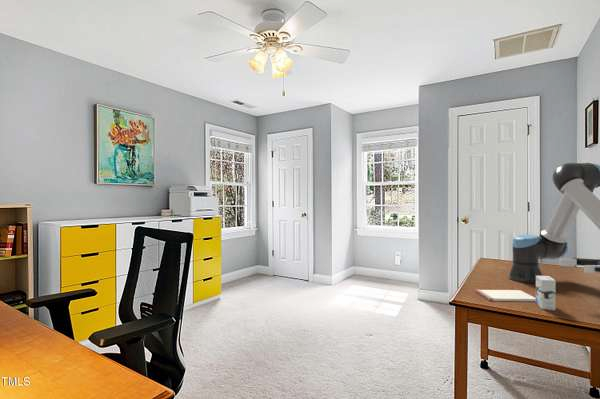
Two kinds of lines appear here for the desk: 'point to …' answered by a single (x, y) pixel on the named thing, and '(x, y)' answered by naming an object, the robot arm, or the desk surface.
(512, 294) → the notepad
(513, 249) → the robot arm
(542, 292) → the ink box
